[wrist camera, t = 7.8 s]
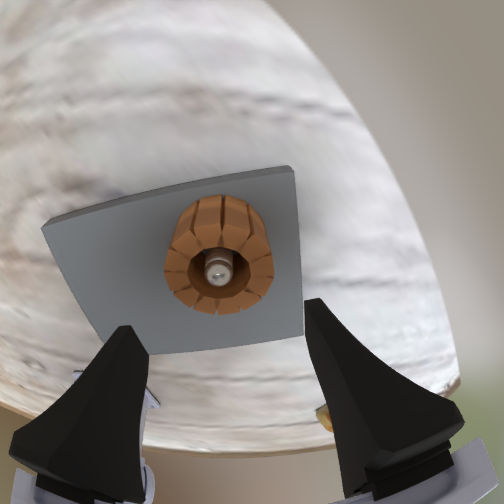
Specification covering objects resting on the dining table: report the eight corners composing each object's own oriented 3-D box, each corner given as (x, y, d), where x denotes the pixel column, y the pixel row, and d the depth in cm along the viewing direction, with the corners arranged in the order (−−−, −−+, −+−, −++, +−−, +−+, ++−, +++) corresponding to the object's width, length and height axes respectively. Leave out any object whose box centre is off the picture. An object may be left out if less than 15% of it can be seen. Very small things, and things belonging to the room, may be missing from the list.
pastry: (362, 377, 32) (372, 401, 28) (385, 385, 34) (393, 406, 31) (310, 410, 35) (316, 432, 32) (337, 415, 38) (343, 435, 34)
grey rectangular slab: (116, 345, 24) (113, 356, 23) (50, 219, 17) (40, 227, 16) (300, 323, 24) (303, 335, 23) (288, 165, 17) (294, 171, 16)
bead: (188, 279, 19) (182, 320, 16) (165, 204, 16) (150, 236, 13) (269, 266, 19) (278, 305, 16) (258, 187, 16) (267, 215, 13)
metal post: (210, 249, 18) (207, 294, 14) (205, 228, 17) (200, 270, 13) (233, 245, 18) (236, 289, 14) (229, 224, 17) (230, 265, 13)
